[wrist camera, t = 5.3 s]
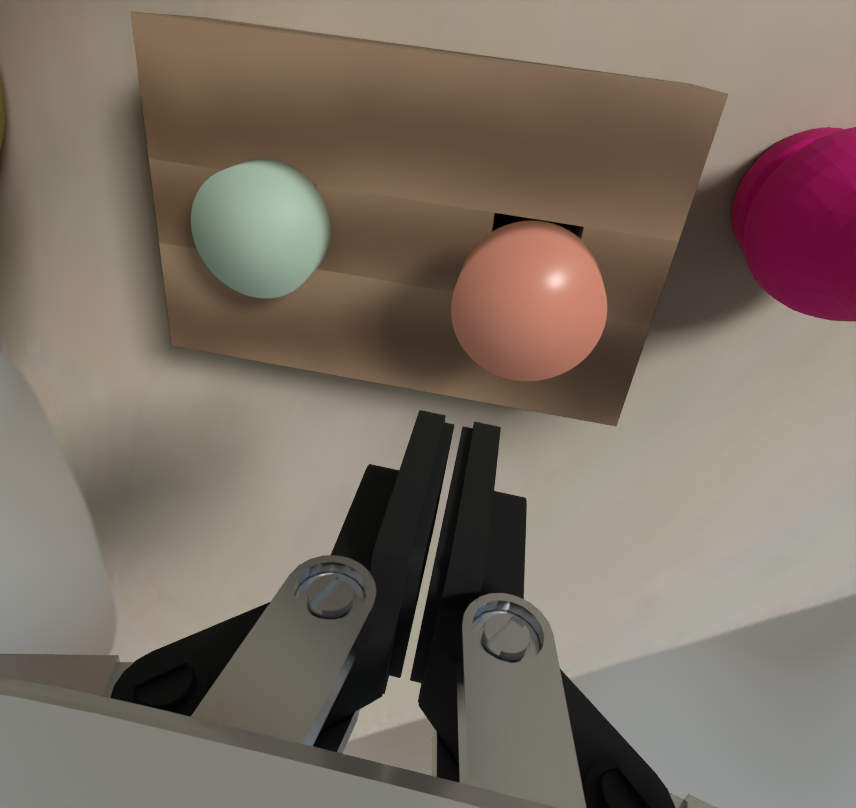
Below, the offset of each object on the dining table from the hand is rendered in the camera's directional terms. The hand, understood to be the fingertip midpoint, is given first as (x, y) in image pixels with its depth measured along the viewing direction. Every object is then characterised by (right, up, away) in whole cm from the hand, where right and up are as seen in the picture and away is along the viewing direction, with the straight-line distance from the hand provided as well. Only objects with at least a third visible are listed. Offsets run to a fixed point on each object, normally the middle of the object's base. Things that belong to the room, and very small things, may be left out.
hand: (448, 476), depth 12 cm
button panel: (-1, +11, +18) cm, 21 cm away
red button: (+4, +8, +14) cm, 17 cm away
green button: (-6, +12, +18) cm, 22 cm away
